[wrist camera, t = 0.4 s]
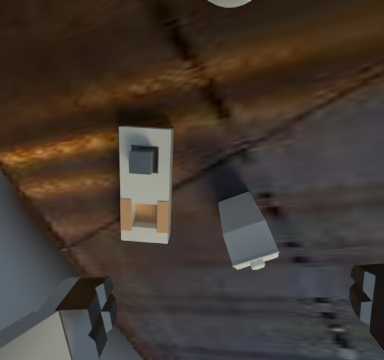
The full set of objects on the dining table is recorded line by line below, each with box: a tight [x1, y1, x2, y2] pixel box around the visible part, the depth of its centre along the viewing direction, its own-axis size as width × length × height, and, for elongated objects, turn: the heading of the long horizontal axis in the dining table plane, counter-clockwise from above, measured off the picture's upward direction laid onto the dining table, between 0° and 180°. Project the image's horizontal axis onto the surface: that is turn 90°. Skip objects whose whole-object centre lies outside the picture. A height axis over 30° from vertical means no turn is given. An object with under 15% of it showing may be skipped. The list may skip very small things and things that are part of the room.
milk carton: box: [218, 192, 279, 270], centre depth 46 cm, size 7×7×19 cm
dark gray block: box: [129, 147, 158, 175], centre depth 49 cm, size 4×4×7 cm
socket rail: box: [119, 126, 174, 244], centre depth 52 cm, size 24×10×4 cm, turn 177°
